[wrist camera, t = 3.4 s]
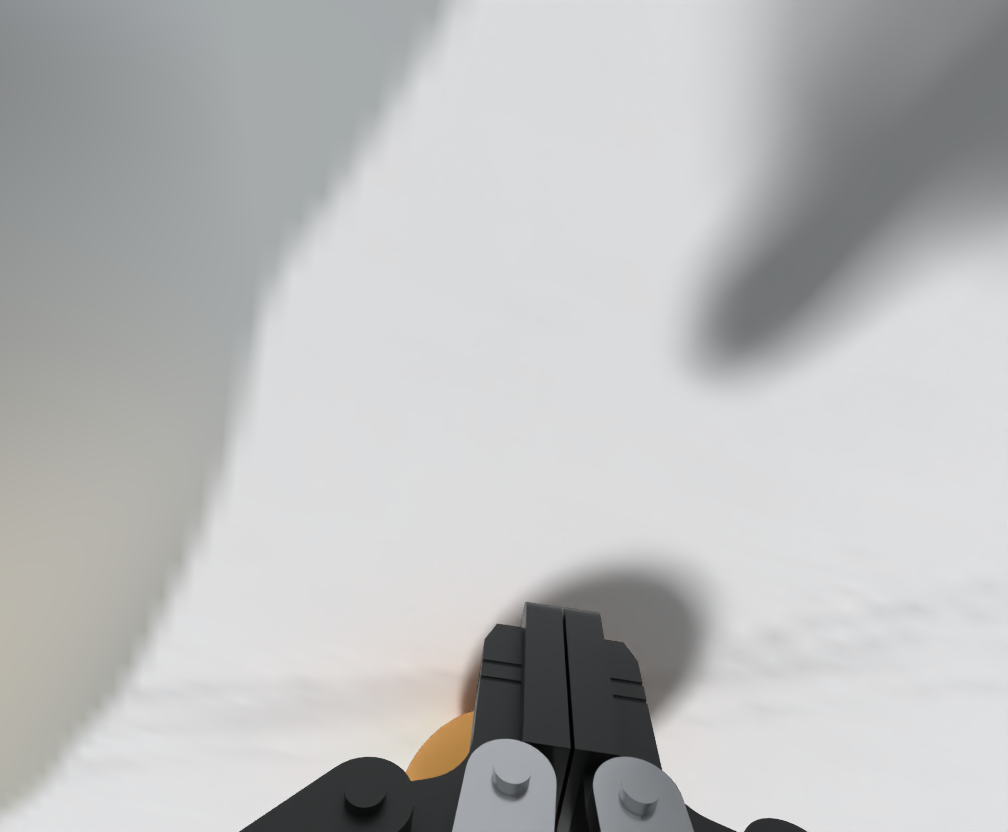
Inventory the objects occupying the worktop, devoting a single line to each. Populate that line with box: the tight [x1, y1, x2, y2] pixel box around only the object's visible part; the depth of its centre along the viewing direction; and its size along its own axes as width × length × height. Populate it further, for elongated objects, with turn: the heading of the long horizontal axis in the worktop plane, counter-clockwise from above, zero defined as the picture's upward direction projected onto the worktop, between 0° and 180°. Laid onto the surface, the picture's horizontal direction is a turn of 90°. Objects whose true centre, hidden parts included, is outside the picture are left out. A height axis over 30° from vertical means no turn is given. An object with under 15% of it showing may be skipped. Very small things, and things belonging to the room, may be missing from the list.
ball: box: [406, 711, 474, 781], centre depth 18 cm, size 6×6×6 cm
